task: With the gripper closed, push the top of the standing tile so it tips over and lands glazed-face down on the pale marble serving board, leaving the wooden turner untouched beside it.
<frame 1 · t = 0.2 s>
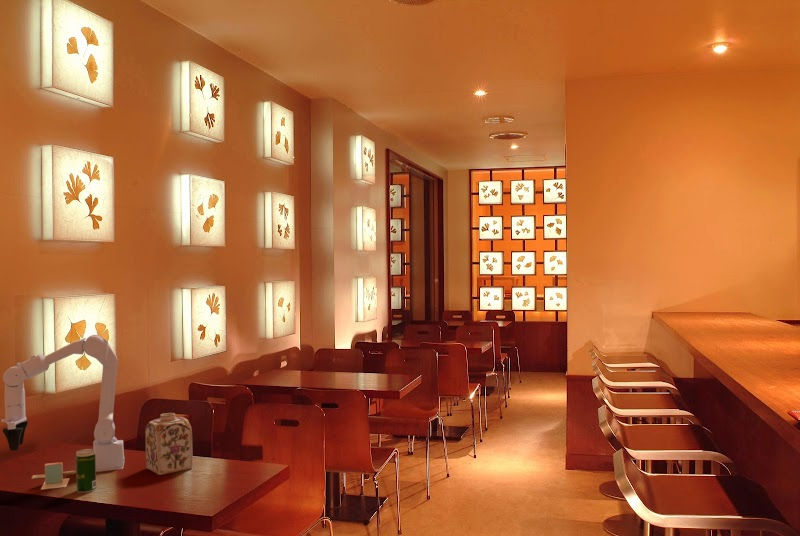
hand: (16, 447, 229), 10 cm above the table, fingers open, 7 cm apart
decorative jar: (169, 469, 236), on the table
tile: (54, 483, 222), resting on marble board
beer can: (86, 491, 214), on the table
marble board: (55, 484, 221), on the table
wooden turner: (54, 476, 231), on the table
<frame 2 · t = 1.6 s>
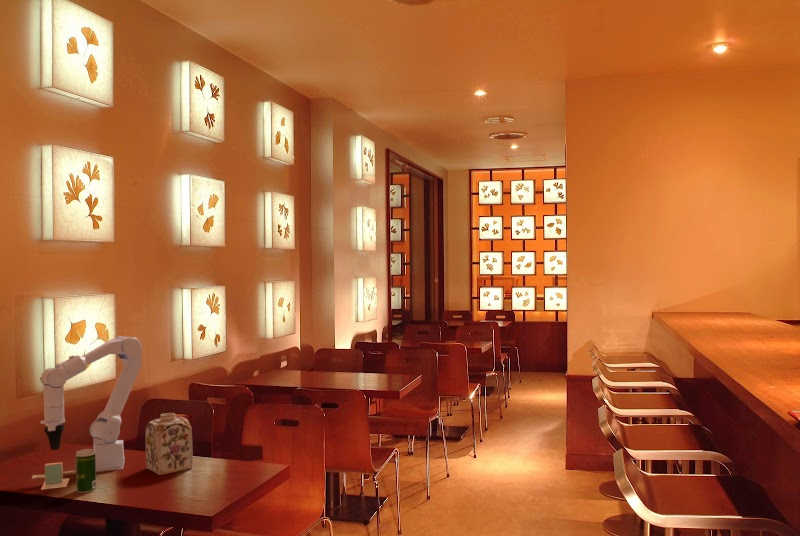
hand: (55, 449, 227), 10 cm above the table, fingers closed
nothing on the table moved.
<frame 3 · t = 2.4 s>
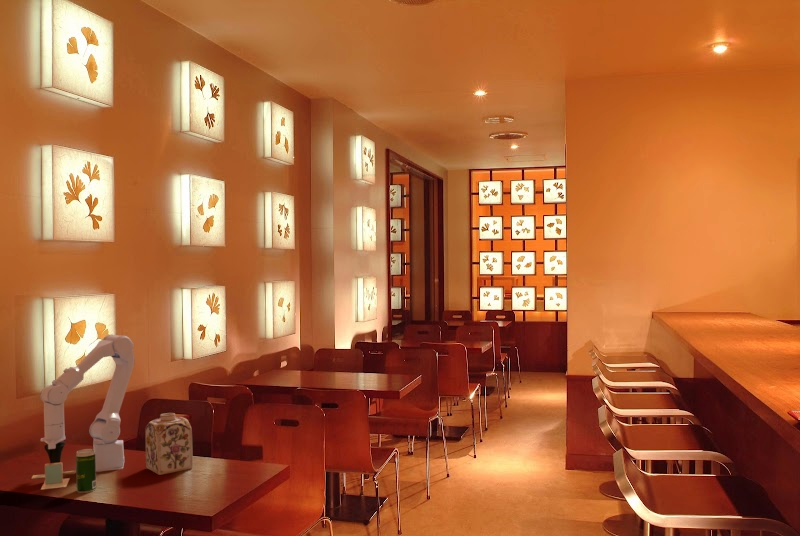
hand: (55, 466, 226), 4 cm above the table, fingers closed
nothing on the table moved.
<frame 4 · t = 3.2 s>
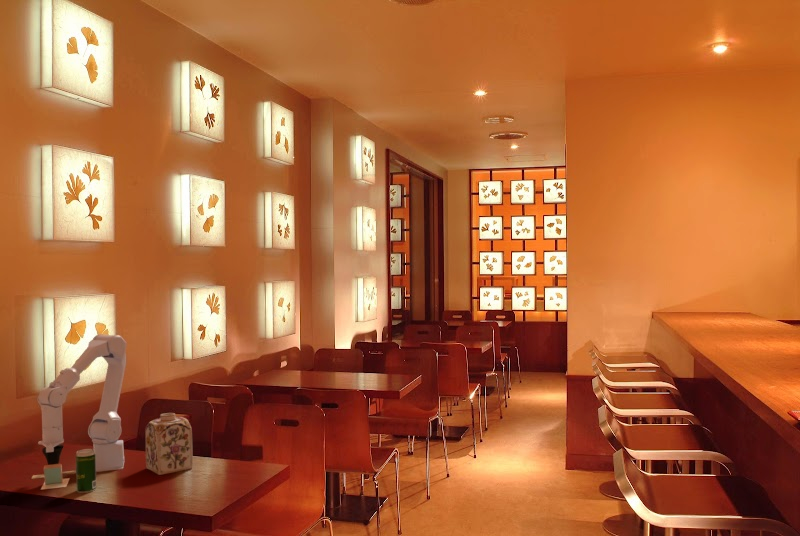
hand: (53, 470, 222), 4 cm above the table, fingers closed
tile: (54, 482, 222), point 1 cm above the table, tilted 22°, touching marble board
everything else where it was.
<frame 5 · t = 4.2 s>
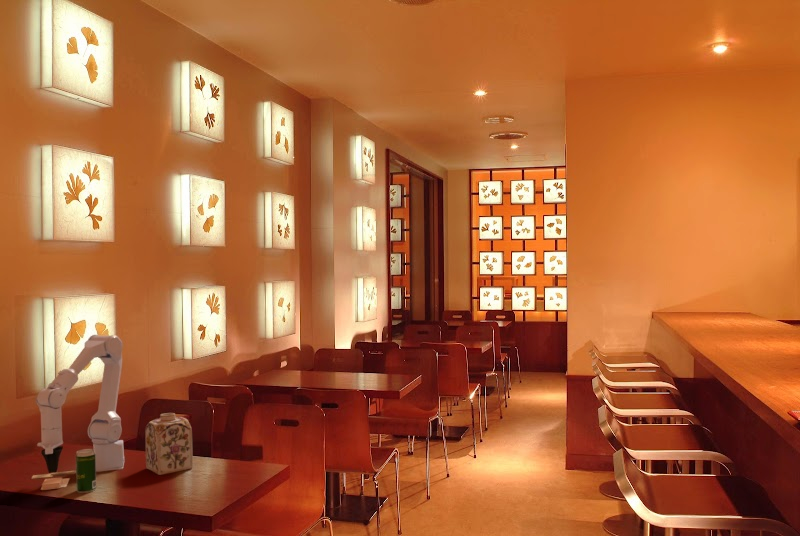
hand: (52, 472, 220), 4 cm above the table, fingers closed
tile: (53, 480, 221), point 1 cm above the table, tilted 90°, touching marble board
everything else where it was.
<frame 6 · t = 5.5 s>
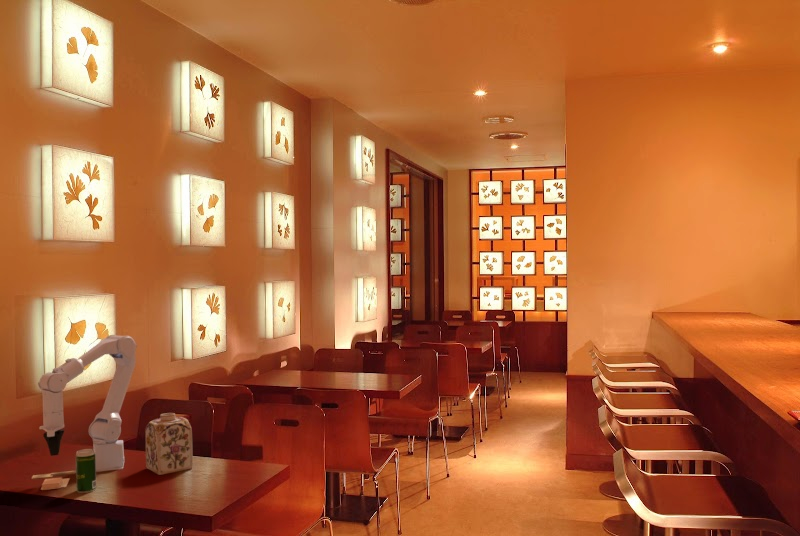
hand: (54, 454, 224), 8 cm above the table, fingers closed
nothing on the table moved.
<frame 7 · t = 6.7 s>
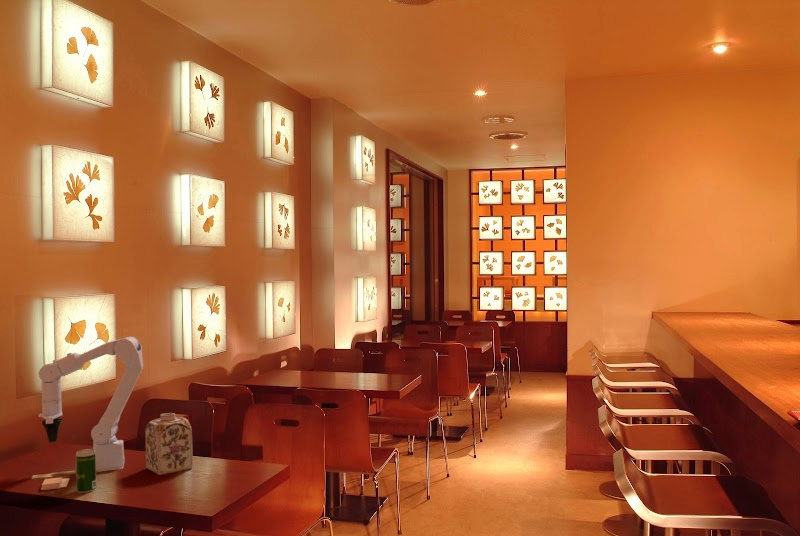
hand: (52, 441, 236), 10 cm above the table, fingers closed
nothing on the table moved.
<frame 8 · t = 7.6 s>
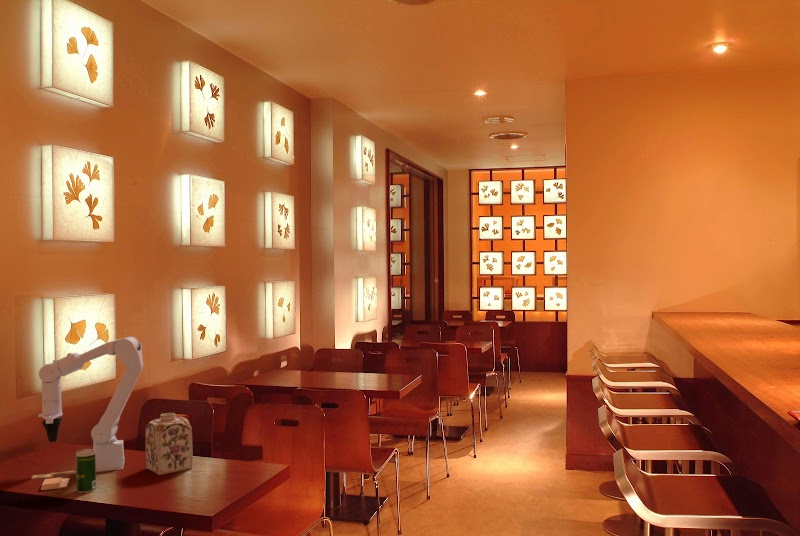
hand: (52, 441, 236), 10 cm above the table, fingers closed
nothing on the table moved.
at the end: tile tilted 90°; tile inside the target area (3.5 cm from its centre), point 1.2 cm above the table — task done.
